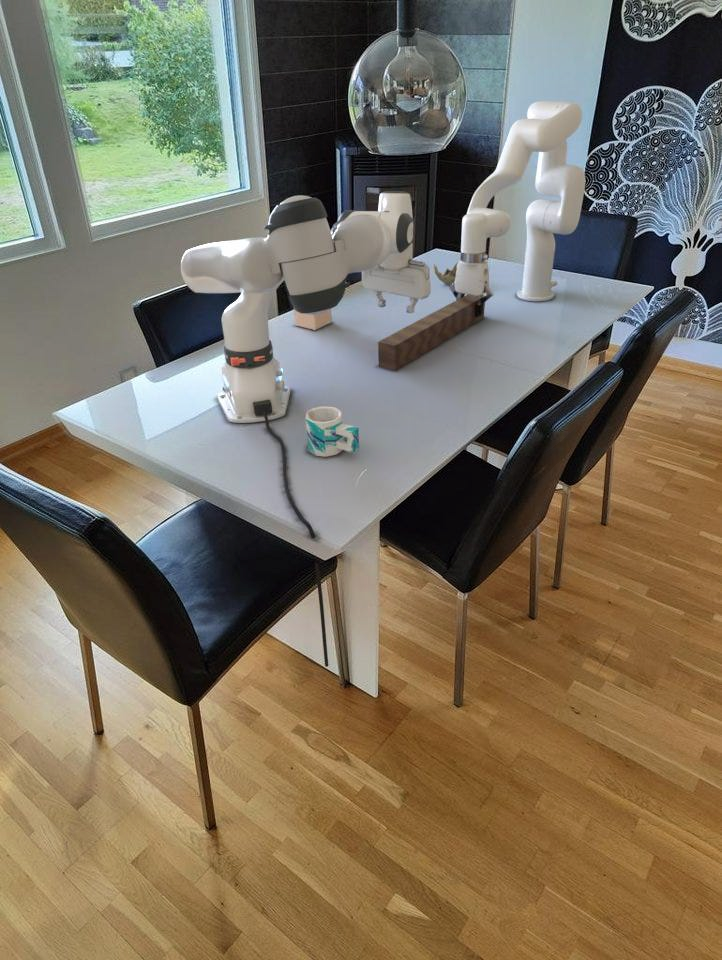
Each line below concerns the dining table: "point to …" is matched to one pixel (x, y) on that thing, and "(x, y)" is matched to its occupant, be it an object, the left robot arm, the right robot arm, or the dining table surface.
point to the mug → (329, 432)
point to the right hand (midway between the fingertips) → (469, 313)
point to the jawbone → (447, 275)
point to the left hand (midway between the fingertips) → (395, 309)
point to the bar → (427, 333)
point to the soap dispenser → (312, 320)
